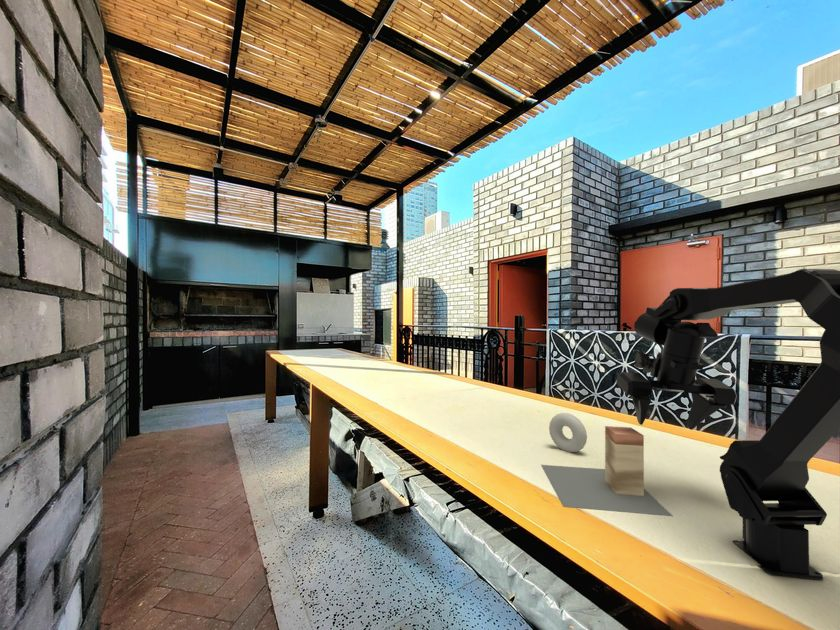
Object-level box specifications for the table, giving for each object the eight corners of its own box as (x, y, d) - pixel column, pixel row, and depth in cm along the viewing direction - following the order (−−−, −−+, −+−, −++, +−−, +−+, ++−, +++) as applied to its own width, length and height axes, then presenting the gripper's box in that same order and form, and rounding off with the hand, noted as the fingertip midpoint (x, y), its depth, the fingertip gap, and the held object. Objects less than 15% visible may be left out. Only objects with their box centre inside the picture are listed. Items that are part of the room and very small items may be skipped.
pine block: (643, 495, 64) (643, 435, 64) (615, 493, 64) (615, 433, 65) (631, 483, 69) (630, 427, 69) (605, 481, 69) (605, 426, 70)
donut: (546, 447, 90) (546, 410, 90) (553, 444, 92) (553, 408, 92) (582, 459, 82) (582, 418, 82) (589, 456, 84) (589, 416, 84)
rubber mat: (673, 519, 57) (673, 516, 57) (563, 509, 60) (563, 506, 60) (624, 472, 75) (624, 470, 75) (540, 466, 77) (540, 464, 77)
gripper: (706, 343, 70) (690, 410, 74) (611, 337, 73) (600, 402, 76) (749, 363, 59) (727, 440, 63) (636, 355, 62) (621, 429, 66)
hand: (664, 426), depth 67 cm, fingers open, 9 cm apart
